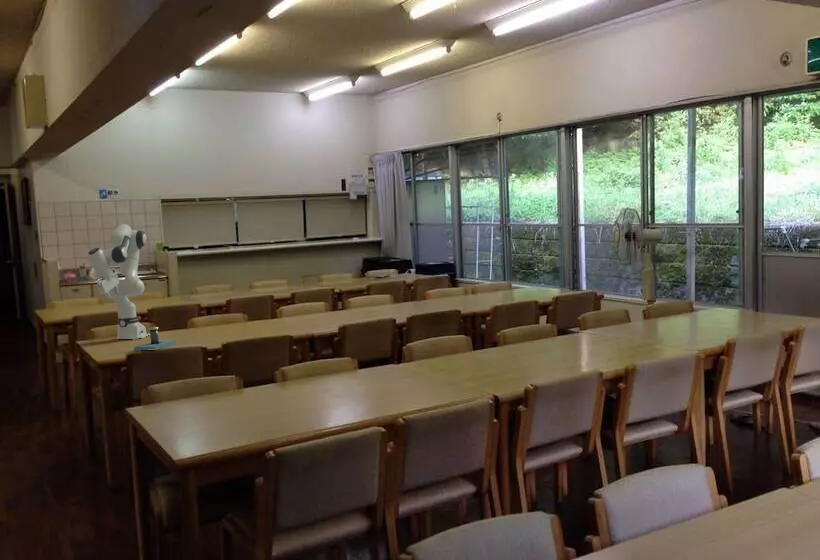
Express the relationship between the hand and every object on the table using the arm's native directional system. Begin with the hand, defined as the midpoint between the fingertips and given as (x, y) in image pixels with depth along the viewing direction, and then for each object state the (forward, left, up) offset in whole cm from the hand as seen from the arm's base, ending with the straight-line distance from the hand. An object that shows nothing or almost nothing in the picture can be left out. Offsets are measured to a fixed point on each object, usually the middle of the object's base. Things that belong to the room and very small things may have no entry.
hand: (113, 295), depth 437 cm
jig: (0, +25, -32) cm, 41 cm away
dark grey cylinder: (0, +25, -32) cm, 41 cm away
